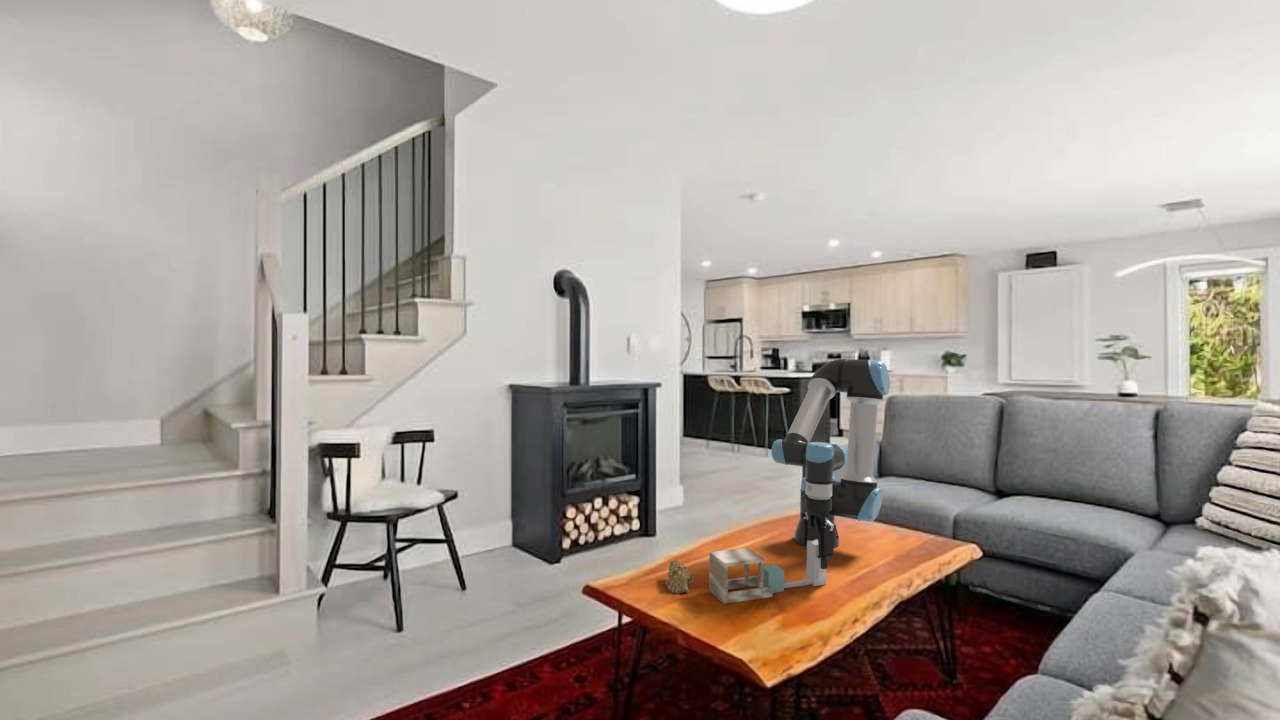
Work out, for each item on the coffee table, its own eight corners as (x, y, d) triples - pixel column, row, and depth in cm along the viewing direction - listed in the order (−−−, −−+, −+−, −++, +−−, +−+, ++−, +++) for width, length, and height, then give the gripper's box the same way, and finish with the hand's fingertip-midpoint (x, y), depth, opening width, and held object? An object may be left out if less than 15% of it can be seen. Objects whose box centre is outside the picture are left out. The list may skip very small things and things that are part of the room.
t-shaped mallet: (816, 578, 182) (817, 538, 181) (827, 585, 177) (828, 544, 177) (759, 586, 175) (759, 545, 175) (768, 593, 170) (769, 551, 170)
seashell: (658, 596, 175) (657, 560, 180) (683, 597, 178) (681, 561, 183) (674, 592, 168) (672, 554, 172) (699, 593, 171) (697, 556, 175)
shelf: (755, 584, 177) (756, 546, 177) (772, 596, 168) (773, 557, 168) (708, 590, 172) (709, 551, 171) (723, 603, 163) (724, 563, 163)
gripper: (790, 490, 185) (788, 566, 185) (826, 505, 168) (824, 588, 169) (811, 488, 187) (809, 564, 188) (848, 502, 171) (846, 585, 172)
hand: (816, 575), depth 179 cm, fingers closed on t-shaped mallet, 4 cm apart
